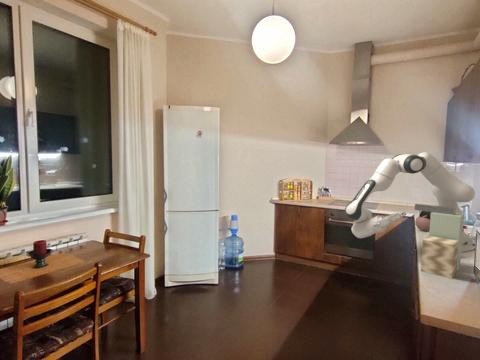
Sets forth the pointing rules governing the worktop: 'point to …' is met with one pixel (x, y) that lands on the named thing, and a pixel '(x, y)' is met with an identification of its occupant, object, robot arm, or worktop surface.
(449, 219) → the column
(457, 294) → the worktop surface
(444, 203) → the robot arm
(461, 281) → the worktop surface
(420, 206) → the lever bar
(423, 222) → the pink toy umbrella
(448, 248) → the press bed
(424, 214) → the squash
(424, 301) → the worktop surface
